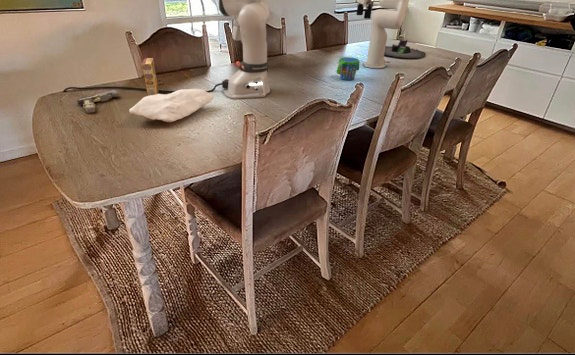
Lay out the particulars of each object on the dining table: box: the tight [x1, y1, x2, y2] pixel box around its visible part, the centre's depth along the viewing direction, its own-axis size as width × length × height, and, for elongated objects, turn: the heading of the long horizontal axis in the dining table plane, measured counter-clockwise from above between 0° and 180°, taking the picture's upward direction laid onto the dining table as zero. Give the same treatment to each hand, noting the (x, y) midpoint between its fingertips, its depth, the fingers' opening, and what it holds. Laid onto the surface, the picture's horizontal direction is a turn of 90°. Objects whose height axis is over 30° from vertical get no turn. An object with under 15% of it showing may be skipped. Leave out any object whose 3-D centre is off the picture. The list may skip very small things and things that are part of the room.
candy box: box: [141, 57, 160, 96], centre depth 163 cm, size 9×4×15 cm, turn 13°
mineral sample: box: [384, 38, 427, 59], centre depth 250 cm, size 35×35×9 cm
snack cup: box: [336, 56, 361, 81], centre depth 195 cm, size 16×10×10 cm
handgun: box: [76, 89, 120, 114], centre depth 155 cm, size 3×18×15 cm
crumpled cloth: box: [129, 88, 214, 123], centre depth 147 cm, size 24×35×9 cm
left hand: (249, 47), depth 206 cm, fingers closed on canister, 5 cm apart
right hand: (363, 16), depth 180 cm, fingers open, 9 cm apart
